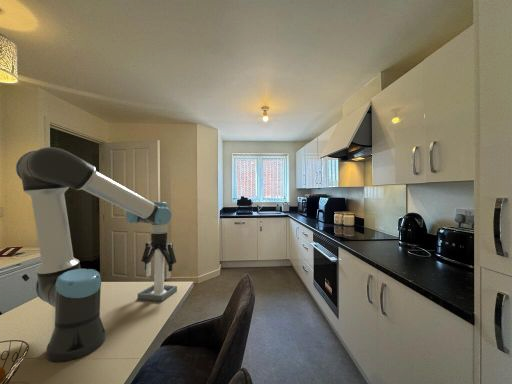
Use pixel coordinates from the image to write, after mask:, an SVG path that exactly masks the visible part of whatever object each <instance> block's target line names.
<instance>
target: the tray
mask: <svg viewBox="0 0 512 384" xmlns="http://www.w3.org/2000/svg"><path fill="white" fill-rule="evenodd" d="M164 290H166V291H167V292H166V293H164V294H163V295H153V294H151V293H152V292H153V291H154V284H153V285H151V286H149V287H147V288H146V289H143V290H142V291H140V292H138V293H137V300H141V301H150V302H164V301H165V300H167V299H168V298H169V297H170V296H172V295H174V294H175V293H176V292H177V291H178V286H177V285H171V284H170V285H169V284H168V285H167V284H164Z"/></svg>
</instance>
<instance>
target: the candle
mask: <svg viewBox="0 0 512 384" xmlns="http://www.w3.org/2000/svg"><path fill="white" fill-rule="evenodd" d="M153 269H154V274H153V275H154V276H153V278H154V279H153V281H154V282H153V285H154V291H153V292H152V293H151V294H153V295H163V294H164V293H166V292H167V291H166V290H164V285H165V257H164V255H163V254H162V253H161V251H160V249H156V250H155V253H154V267H153Z"/></svg>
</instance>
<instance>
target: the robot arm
mask: <svg viewBox="0 0 512 384" xmlns="http://www.w3.org/2000/svg"><path fill="white" fill-rule="evenodd" d="M15 172H16V174H17V176H18V178H19V179H20V180H21V183H22V188H23V189H22V190H23V192H24V193H25V194H27V195H29V196H30V198H31V205H32V210H33V217H34V223H35V231H36V234H37V240H38V241H37V242H38V248H39V254H40V260H41V266H39V268H37V270H36V276H37V279H36V282H35V292H36V295H37V296H38V297H39V299H40V300H42V301H43V302H44V303H48V304H49V305H50V306H52V307H54V310H55V311H54V327H53V328H54V329H53V331H52V335H51V337H50V339H49V342H48V343H47V346H46V349H45V351H46V352H45V357H46V359H47V360H48V361H50V362H54V363H55V362H56V363H57V362H60V363H61V362H68V361H72V360H76V359H79V358H82V357H84V356H87V355H89V354H90V353H93V352H94V351H96V350H97V349H98V348H100V347H101V346H102V345H103V344H104V342H105V341H106V329H105V328H104V324H103V321H102V319H101V316H100V315H101V312H100V311H101V293H102V291H101V290H102V289H101V288H102V280H101V278H102V277H101V274H100V272H99V271H97V270H96V269H93V268H88V269H87V268H81V263H80V260H79V259H77V258H75V257H74V251H73V245H72V244H73V243H72V238H71V231H70V230H71V229H70V224H69V218H68V217H69V216H68V209H67V204H66V198H65V193H66V191H68V190H69V188H70V189H72V190H75V191H80V190H82V191H85V192H86V193H89V194H91V195H93V196H95V197H97V198H100V199H101V200H104V201H105V202H107V203H110V204H111V205H114V206H116V207H118V208H120V209H123V210H124V211H125V219H126V221H127V222H128V223H129V224H130V223H131V224H138V223H141V224H142V223H143V224H150V231H151V232H150V240H151V242H150V241H149V242H146V243H145V246H144V247H145V248H144V250H143V254H142V257H141V261H140V262H142V263H144V269H145V277H146V278H149V277H150V276H152V261H151V260H152V259H153V257H154V256H155V250H156V249H160V251H161V253H162V254H163V255H164V260H165V262H166V263H167V264H166V269H165V270H166V271H165V272H166V277H165V279H170V278H171V277H172V271H173V265H174V264H176V263H177V259H176V255H175V252H174V251H175V250H174V248H173V247H174V244H173V243H168V242H167V241H168V223H169V222H170V221H171V220H172V217H173V215H172V211H171V210H170V209H169V207H168V206H169V205H168V202H166V201H153V202H152V201H151V200H149V199H146V198H145V197H144V196H141V195H140V194H138V193H136V192H135V191H133V190H131V189H129V188H127V187H126V186H125V185H122V184H120V183H118V182H116V181H114V180H113V179H111V178H110V177H107V176H106V175H104V174H102V173H100V172H99V171H97V169H96V166H95V165H93V164H91V163H89V162H87V161H86V160H84V159H82V158H80V157H79V156H76V155H75V154H73V153H71V152H69V151H67V150H65V149H63V148H58V147H52V146H50V147H49V146H48V147H42V148H39V149H36V150H31V151H29V152H26V153H24V154H22V156H20V157H19V158H18V160H17V162H16V164H15Z"/></svg>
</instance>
